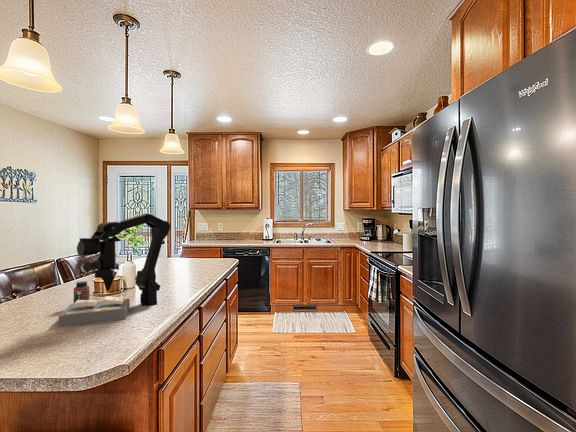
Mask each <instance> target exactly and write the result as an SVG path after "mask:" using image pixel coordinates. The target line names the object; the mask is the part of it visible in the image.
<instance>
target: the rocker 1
mask: <svg viewBox="0 0 576 432" xmlns="http://www.w3.org/2000/svg"><path fill="white" fill-rule="evenodd" d="M97 302H98V299H89V300H77V301H76V302H75V303H74V302H73V304H74V306H95V305H96V304H97Z"/></svg>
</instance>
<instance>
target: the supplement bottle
mask: <svg viewBox="0 0 576 432" xmlns="http://www.w3.org/2000/svg"><path fill="white" fill-rule="evenodd" d="M75 283H76V284H75V285H76V286H74V288H73V304H74V303H75V302H76V301H77V300H90V295H91V294H90V291H91V290H90V286H89V285H88V281H86V280H81V281H80V280H79V281H76V282H75Z"/></svg>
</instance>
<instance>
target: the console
mask: <svg viewBox="0 0 576 432" xmlns="http://www.w3.org/2000/svg"><path fill="white" fill-rule="evenodd" d="M123 299H124V302H123V304H122V305H121V304H113V303H106V302H104V300H102V301H101V300H100V301H98V300H97V304H96V305H95V306H74V303H71V304H69V305H68V306H67V307H66V308H65V309H64V310H63V311H62V312H61V313H60V314H59V315H58V327H66V326H67V327H69V326H74V325H83V324H93V323H101V322H110V321H117V320H118V321H119V320H126V319H127V316H128V313H129V310H130V306H131V305H130V298H123Z"/></svg>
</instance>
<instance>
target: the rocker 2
mask: <svg viewBox="0 0 576 432" xmlns="http://www.w3.org/2000/svg"><path fill="white" fill-rule="evenodd" d="M124 299H125V298H122V297H116V296H115V297H113V296H110V295H109V296H107V295H106V296H105V297H104V299H103V301H104V302H106V303H113V304H121V305H122V304H123V302H124Z"/></svg>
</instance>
